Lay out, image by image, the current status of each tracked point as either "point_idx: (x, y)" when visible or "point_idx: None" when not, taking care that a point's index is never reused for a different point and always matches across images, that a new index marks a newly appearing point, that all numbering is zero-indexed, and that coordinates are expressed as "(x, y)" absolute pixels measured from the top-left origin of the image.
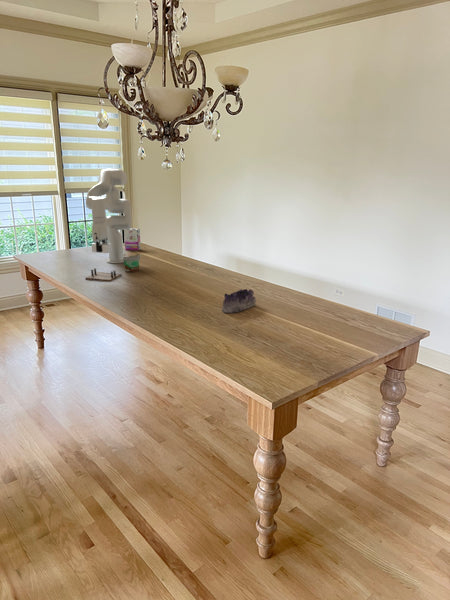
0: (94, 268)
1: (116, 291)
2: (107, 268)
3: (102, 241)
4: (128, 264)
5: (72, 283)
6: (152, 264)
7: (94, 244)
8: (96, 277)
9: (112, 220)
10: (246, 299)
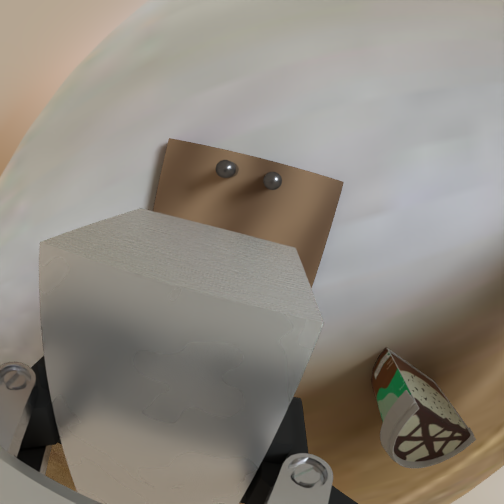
0: (278, 174)
1: (32, 361)
2: (470, 211)
3: (269, 497)
4: (383, 400)
5: (88, 101)
6: (489, 408)
7: (50, 329)
8: (179, 217)
9: None
10: None
